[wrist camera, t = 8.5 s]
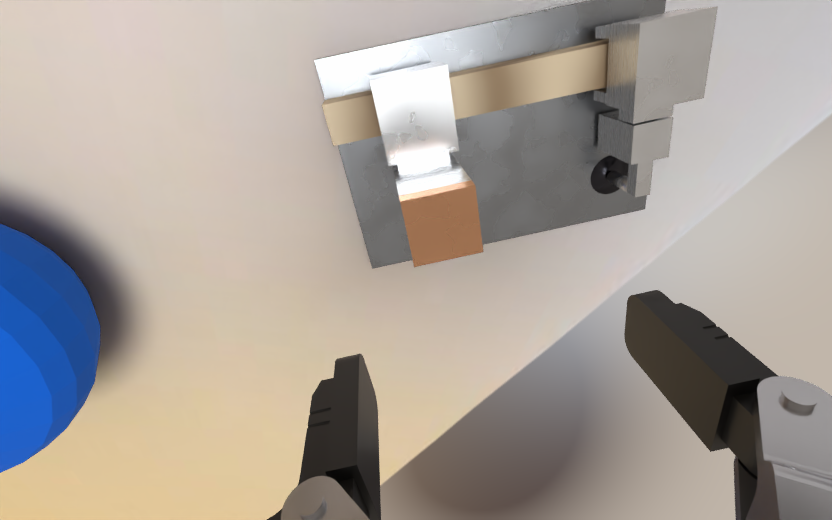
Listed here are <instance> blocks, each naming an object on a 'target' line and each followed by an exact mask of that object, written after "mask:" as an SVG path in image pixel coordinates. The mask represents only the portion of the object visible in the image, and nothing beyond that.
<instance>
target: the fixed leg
mask: <svg viewBox="0 0 832 520" xmlns="http://www.w3.org/2000/svg"><path fill="white" fill-rule="evenodd" d="M716 14H717V7H707V8H695V9H683V10H675V11H671V12H666V13H659V14H654V15H650V16H645V17H641V18H636V19H631V20H627V21H622V22H617V23H613V24H608V25H603V26H599V27H595V38H609V44H608V68H607V87H606V88H602V89H597V90H594V98H593V100H595V101H599V102H603V103H606V105H607V106H611V107H614V108H618V109H619V110H616V111H611V112H607V113H602V114H599V119H598V149H599V150H601V151H603V152H605V153H607V154H609V155H611V156H613V157H615V158H618V159H620V160H622V161H624V162H626V163H628V164H629V166H628V177H627V176H625V175H623V174H622V173H620V172H618V171H616V170H614V171H611V172H610V173H609V174H608V176H607V180H608V181H609V182H610V183H612V184H614V185H615V186H617V187H619V188H620V189H622V190H624V191H625V192H627V193H628V194H630V195H632V196H633V197H640V196H644V195H649V194H650V187H651V177H652V167H653V160H656V159H661V158H665V157H668V156H669V147H670V139H671V131H672V122H673V117H670V116H672V113H673V105H674V104H678V103H683V102H687V101H692V100H696V99H701V98H704V93H705V86H706V79H707V73H708V66H709V60H710V53H711V47H712V40H713V34H714V27H715V20H716Z"/></svg>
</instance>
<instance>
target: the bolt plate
mask: <svg viewBox="0 0 832 520" xmlns="http://www.w3.org/2000/svg"><path fill="white" fill-rule="evenodd" d="M665 1H666V0H590V1H586V2H581V3H576V4H572V5H567V6H562V7H558V8H553V9H548V10H544V11H539V12H534V13H530V14H525V15H520V16H516V17H511V18H506V19H502V20H497V21H492V22H488V23H483V24H479V25H474V26H469V27H465V28H460V29H455V30H451V31H446V32H441V33H437V34H432V35H427V36H423V37H418V38H413V39H409V40H404V41H399V42H395V43H390V44H385V45H381V46H376V47H372V48H367V49H362V50H358V51H353V52H348V53H344V54H339V55H334V56H330V57H325V58H320V59H316V60H314V61H315V65H316V68H317V72H318V76H319V79H320V83H321V86H322V90H323V93H324V97H325V100H327V99H331V98H336V97H341V96H345V95H350V94H355V93H359V92H364V91H369V90H372V89H371V85H370V79H369V76H371V75H376V74H380V73H385V72H390V71H394V70H399V69H404V68H408V67H413V66H418V65H422V64H427V63H432V62H441V63H444V64H447V65H448V71H449V73H452V72H457V71H461V70H466V69H471V68H475V67H480V66H485V65H489V64H494V63H498V62H503V61H508V60H512V59H517V58H522V57H526V56H531V55H536V54H540V53H545V52H549V51H554V50H559V49H563V48H568V47H573V46H577V45H582V44H587V43H591V42H596V41H601V40H605V39H609V38H595V27H599V26H603V25H608V24H613V23H617V22H622V21H627V20H631V19H636V18H641V17H645V16H650V15H654V14H659V13H664V11H665ZM604 88H606V87H604ZM600 89H602V88H600ZM595 90H597V89H595ZM593 98H594V90H591V91H586V92H581V93H577V94H572V95H567V96H563V97H558V98H554V99H549V100H544V101H540V102H535V103H530V104H526V105H521V106H517V107H512V108H507V109H503V110H498V111H493V112H489V113H484V114H480V115H475V116H470V117H466V118H461V119H456V120H455V123H456V131H457V138H458V146H459V151H456V152H452V155H453V156H454V157H455V159H456V160H457V161H458V163H459V164H460V165H461V167H462V168H463V169H464V171H465V172H466V173H467V175H468V176H469V177H470V179H471V180H472V181H473V183H474V184H475V186H476V195H477V203H478V212H479V220H480V228H481V237H482V245H483V244H487V243H492V242H497V241H501V240H506V239H510V238H515V237H519V236H524V235H529V234H533V233H538V232H542V231H547V230H552V229H556V228H561V227H565V226H570V225H574V224H579V223H584V222H588V221H593V220H597V219H602V218H607V217H611V216H616V215H620V214H625V213H629V212H634V211H639V210H643V209H645V205H646V195H644V196H640V197H633V196H632V195H630V194H628V193H627V192H625V191H624V190H622V189H620V188H619V187H617V186H615V185H614V184H612V183H610V182H609V181H608V180H607V176H608V174H609V173H610V172H611V171H614V170H616V171H618V172H620V173H622V174H623V175H625V176H627V177H628V166H629V164H628V163H626V162H624V161H622V160H620V159H618V158H615V157H613V156H611V155H609V154H607V153H605V152H603V151H601V150H599V149H598V119H599V114H602V113H607V112H611V111H616V110H619V109H618V108H614V107H611V106H607V105H606V103H603V102H599V101H595V100H593ZM338 147H339V151H340V154H341V158H342V162H343V165H344V169H345V172H346V176H347V179H348V183H349V187H350V190H351V194H352V197H353V201H354V205H355V208H356V212H357V215H358V219H359V222H360V226H361V230H362V233H363V237H364V240H365V244H366V248H367V251H368V255H369V258H370V262H371V265H372V269H373V268H377V267H382V266H387V265H391V264H396V263H400V262H405V261H409V260H413V259H412V254H411V250H410V245H409V240H408V236H407V231H406V227H405V222H404V218H403V213H402V209H401V204H400V199H399V195H398V190H397V185H396V181H395V176H394V171H393V167H392V166H389V165H388V161H387V156H386V152H385V147H384V143H383V139H382V136H378V137H373V138H369V139H364V140H359V141H355V142H350V143H345V144H341V145H338Z"/></svg>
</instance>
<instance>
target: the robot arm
mask: <svg viewBox="0 0 832 520" xmlns="http://www.w3.org/2000/svg"><path fill="white" fill-rule="evenodd" d="M625 342H626V346H627V348H628V350H629V353H630V354H631V356H632V357H633V358H634V360H635V361H636V362H637V363H638V364H639V366H640V367H641V368H642V369H643V370H644V372H645V373H646V374H647V375H648V377H649V378H650V379H651V380H652V381H653V383H654V384H655V385H656V386H657V387H658V389H659V390H660V391H661V392H662V393H663V395H664V396H665V397H666V398H667V400H668V401H669V402H670V403H671V404H672V406H673V407H674V408H675V409H676V410H677V412H678V413H679V414H680V415H681V416H682V418H683V419H684V420H685V421H686V422H687V424H688V425H689V426H690V427H691V429H692V430H693V431H694V432H695V433H696V435H697V436H698V437H699V438H700V439H701V441H702V442H703V443H704V444H705V445H706V447H707V448H708V449H709V450H710V452H711V451H715V450H720V449H724V448H730V449H731V451H732V452H733V453H734V454H735V455H736V456H735V459H734V486H735V512H736V513H735V514H736V520H832V396H831V395H830V394H828V393H827V392H826V391H824V390H823V389H821V388H819V387H817V386H816V385H813V384H811V383H809V382H806V381H803V380H800V379H796V378H792V377H784V376H778V375H776V374H775V373H774V372H773V371H771V370H770V369H769V368H767V366H765V365H764V364H763V363H762V362H761V361H759V360H758V359H757V358H756V357H755V356H753V355H752V354H751V353H750V352H749V351H747V350H746V349H745V348H744V347H743V346H741V345H740V344H739V343H738V342H736V341H735V340H734V339H733V338H732V337H728V334H727V333H726V332H724V331H723V330H722V329H721V328H720V327H716V324H715V323H714V322H712V321H711V320H710V319H709V318H707V317H706V316H705V315H704V314H703V313H701V312H700V311H697V310H695V309H693V308H691V307H689V306H687V305H684V304H682V303H679V304H675V303H673V302H672V301H671V300H670V299H669V298H668V297H667V296H665V295H664V294H663V293H662V292H660V291H658V290H654V291H650V292H645V293H641V294H636V295H631V296H630V297H629V298H628V301H627V312H626V324H625ZM267 520H381V507H380V472H379V438H378V409H377V401H376V395H375V391H374V388H373V385H372V382H371V379H370V376H369V373H368V370H367V367H366V364H365V361H364V358H363V356H362V354H357V355H353V356H348V357H343V358H339V359H336V361H335V370H334V378H331V379H327V380H322V381H321V382H320V384H319V385H318V387H317V389H316V390H315V392H314V394H313V396H312V401H311V407H310V415H309V421H308V428H307V434H306V440H305V447H304V454H303V460H302V467H301V474H300V479H299V484H298V486H297V487H296V488H295V489H294V490H293V491H292V492H291V493H290V495H289V496H288V498H287V499H286V501H285V503H284V505H283V508H282V509H281V510H280V511H279V512H278V513H276V514H275V515H274V516H272V517H270V518H269V519H267Z"/></svg>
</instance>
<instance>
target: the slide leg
mask: <svg viewBox="0 0 832 520" xmlns="http://www.w3.org/2000/svg"><path fill="white" fill-rule="evenodd" d="M369 79H370V85H371V89H372V94H373V98H374V103H375V107H376V112H377V116H378V121H379V125H380V130H381V134H382V139H383V143H384V147H385V152H386V156H387V161H388V165H389V166H392V167H393V171H394V176H395V181H396V185H397V190H398V195H399V199H400V204H401V209H402V213H403V218H404V222H405V227H406V231H407V236H408V240H409V245H410V250H411V254H412V259H413V263H414V267H416V266H421V265H426V264H430V263H435V262H439V261H444V260H448V259H453V258H458V257H462V256H467V255H471V254H476V253H481V252H483V245H482V237H481V228H480V220H479V212H478V203H477V195H476V186H475V184H474V183H473V181H472V180H471V179H470V177H469V176H468V175H467V173H466V172H465V171H464V169H463V168H462V167H461V165H460V164H459V163H458V161H457V160H456V159H455V157H454V156H453V155H452V152H456V151H459V146H458V138H457V131H456V123H455V116H454V108H453V101H452V94H451V86H450V79H449V71H448V65H447V64H444V63H441V62H432V63H427V64H422V65H418V66H413V67H408V68H404V69H399V70H394V71H390V72H385V73H380V74H376V75H371V76H369Z"/></svg>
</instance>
